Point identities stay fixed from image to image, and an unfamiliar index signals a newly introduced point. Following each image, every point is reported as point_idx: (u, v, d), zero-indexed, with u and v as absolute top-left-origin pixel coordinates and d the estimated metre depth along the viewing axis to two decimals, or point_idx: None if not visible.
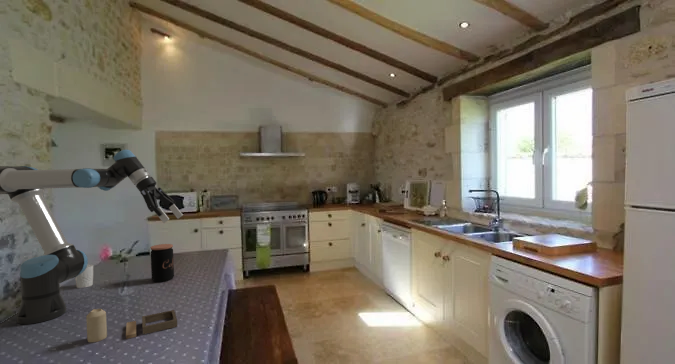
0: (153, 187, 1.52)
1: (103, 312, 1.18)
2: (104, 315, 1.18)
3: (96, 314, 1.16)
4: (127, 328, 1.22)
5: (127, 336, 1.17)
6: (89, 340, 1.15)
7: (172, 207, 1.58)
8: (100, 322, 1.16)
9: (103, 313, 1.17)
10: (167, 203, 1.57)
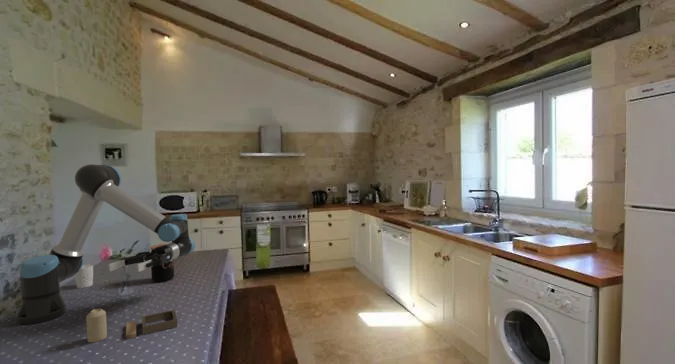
0: None
1: (103, 312, 1.18)
2: (104, 315, 1.18)
3: (96, 314, 1.16)
4: (127, 328, 1.22)
5: (127, 336, 1.17)
6: (89, 340, 1.15)
7: (122, 263, 1.37)
8: (100, 322, 1.16)
9: (103, 313, 1.17)
10: (129, 260, 1.39)
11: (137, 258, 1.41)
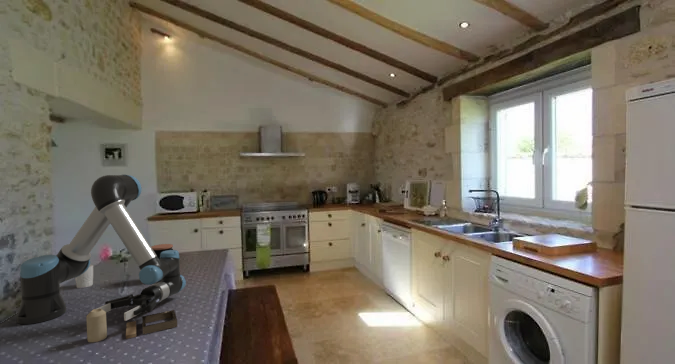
0: None
1: (103, 312, 1.18)
2: (104, 315, 1.18)
3: (96, 314, 1.16)
4: (127, 328, 1.22)
5: (127, 336, 1.17)
6: (89, 340, 1.15)
7: (108, 307, 1.28)
8: (100, 322, 1.16)
9: (103, 313, 1.17)
10: (115, 304, 1.31)
11: (124, 301, 1.33)
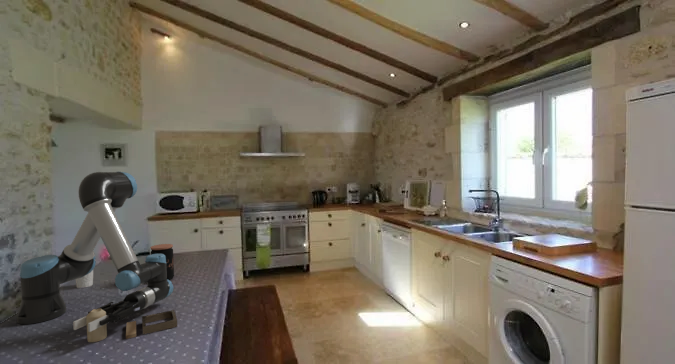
0: None
1: (103, 312, 1.18)
2: (104, 315, 1.18)
3: (96, 314, 1.16)
4: (127, 328, 1.22)
5: (127, 336, 1.17)
6: (89, 340, 1.15)
7: None
8: None
9: (103, 313, 1.17)
10: None
11: (108, 309, 1.24)
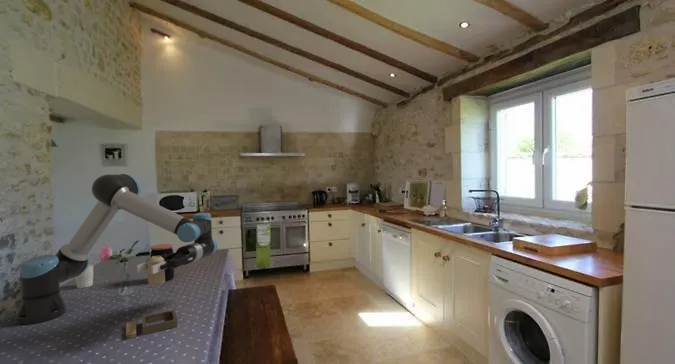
0: None
1: (162, 258, 1.27)
2: (163, 261, 1.26)
3: (156, 259, 1.25)
4: (127, 328, 1.22)
5: (127, 336, 1.17)
6: (150, 283, 1.24)
7: None
8: None
9: (162, 259, 1.26)
10: None
11: (164, 258, 1.33)
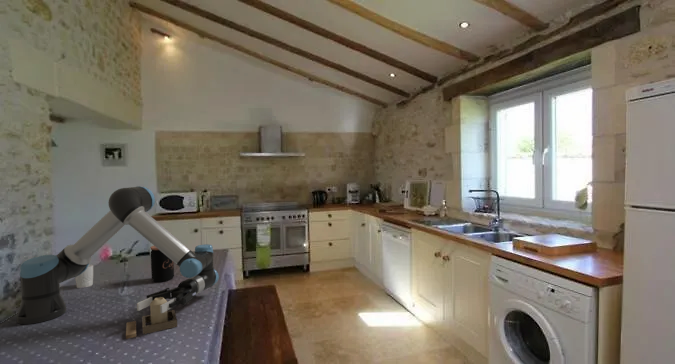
0: None
1: (165, 300, 1.27)
2: None
3: (159, 302, 1.25)
4: (127, 328, 1.22)
5: (127, 336, 1.17)
6: None
7: (150, 301, 1.29)
8: None
9: (165, 301, 1.27)
10: (157, 297, 1.32)
11: (164, 294, 1.34)
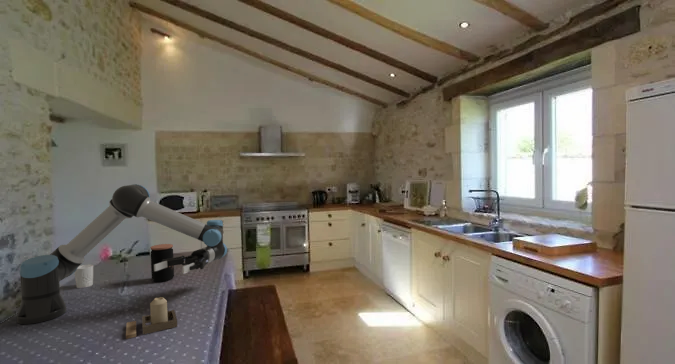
0: None
1: (165, 300, 1.27)
2: (166, 303, 1.27)
3: (159, 302, 1.25)
4: (127, 328, 1.22)
5: (127, 336, 1.17)
6: None
7: (165, 264, 1.45)
8: (163, 309, 1.26)
9: (165, 301, 1.27)
10: (171, 262, 1.48)
11: (178, 260, 1.49)
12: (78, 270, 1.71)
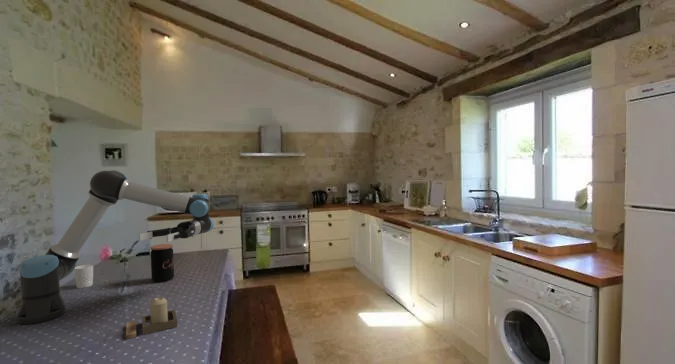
0: None
1: (165, 300, 1.27)
2: (166, 303, 1.27)
3: (159, 302, 1.25)
4: (127, 328, 1.22)
5: (127, 336, 1.17)
6: None
7: (150, 235, 1.47)
8: (163, 309, 1.26)
9: (165, 301, 1.27)
10: (156, 232, 1.49)
11: (163, 231, 1.51)
12: (78, 270, 1.71)
